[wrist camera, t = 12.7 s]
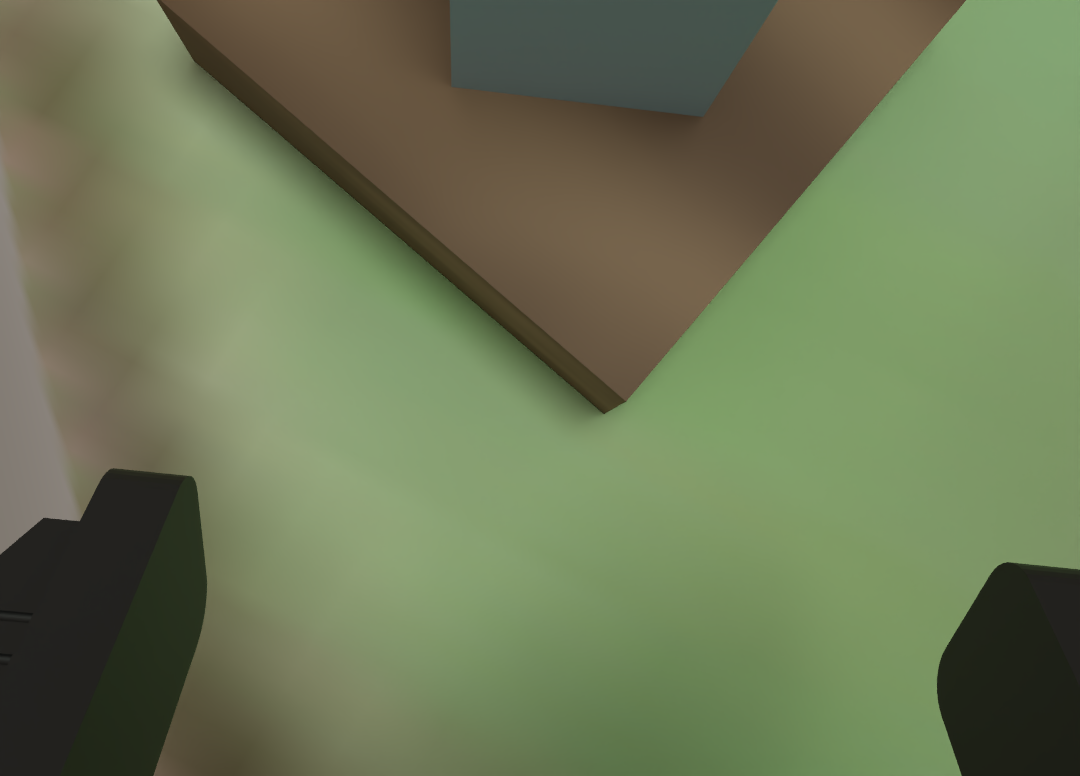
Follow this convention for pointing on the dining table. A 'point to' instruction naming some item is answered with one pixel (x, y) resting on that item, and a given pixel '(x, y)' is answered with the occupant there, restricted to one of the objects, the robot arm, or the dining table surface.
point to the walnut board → (561, 159)
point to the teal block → (604, 49)
